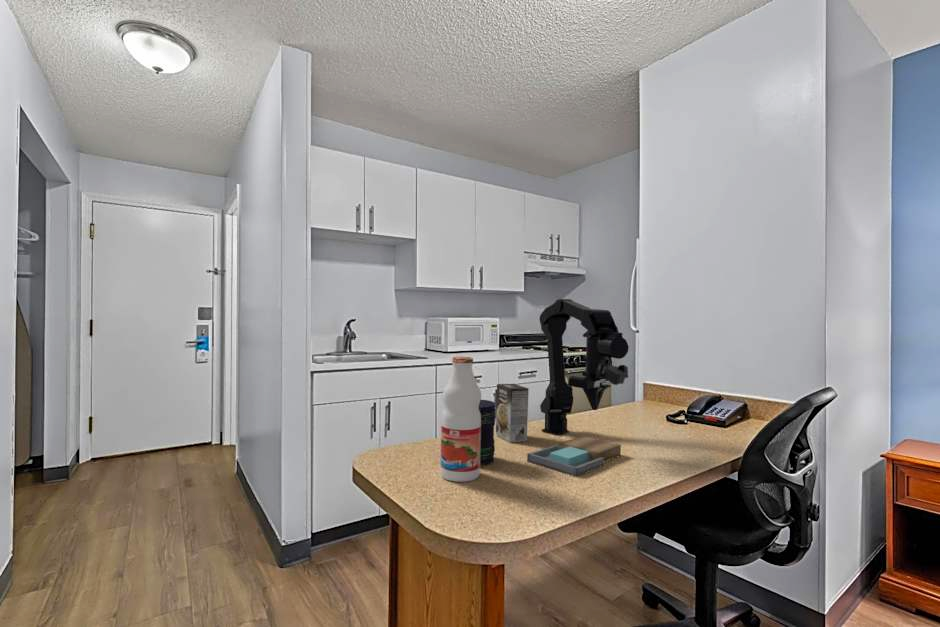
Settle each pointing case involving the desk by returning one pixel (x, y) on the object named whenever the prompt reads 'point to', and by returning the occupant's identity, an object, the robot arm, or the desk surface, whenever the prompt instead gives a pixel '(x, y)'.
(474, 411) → the fruit juice
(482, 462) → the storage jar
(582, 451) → the teal sponge
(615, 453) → the deck
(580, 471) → the tray
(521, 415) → the coffee box
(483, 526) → the desk surface
